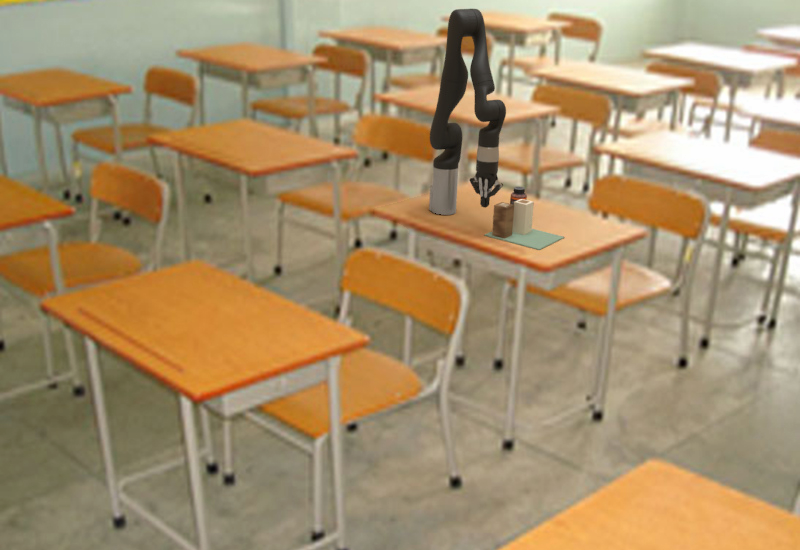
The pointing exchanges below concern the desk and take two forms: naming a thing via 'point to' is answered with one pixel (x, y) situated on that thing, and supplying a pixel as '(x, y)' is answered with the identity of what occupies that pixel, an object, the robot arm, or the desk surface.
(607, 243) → the desk surface
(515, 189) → the supplement bottle
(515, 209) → the cream block
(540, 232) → the cutting mat
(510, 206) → the walnut block
